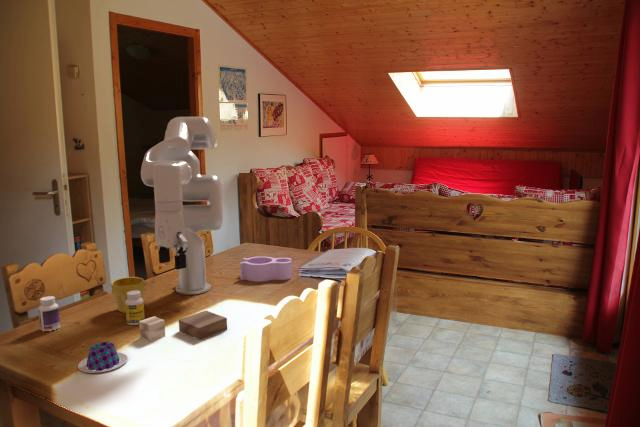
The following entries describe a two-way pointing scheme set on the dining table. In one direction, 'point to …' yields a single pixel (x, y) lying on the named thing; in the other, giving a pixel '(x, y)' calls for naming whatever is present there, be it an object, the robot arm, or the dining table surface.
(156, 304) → the dining table surface
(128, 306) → the supplement bottle
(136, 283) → the plant pot
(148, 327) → the maple block
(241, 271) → the lavender double-well tray
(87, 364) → the purple patterned hat
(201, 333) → the walnut block
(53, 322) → the pill bottle
